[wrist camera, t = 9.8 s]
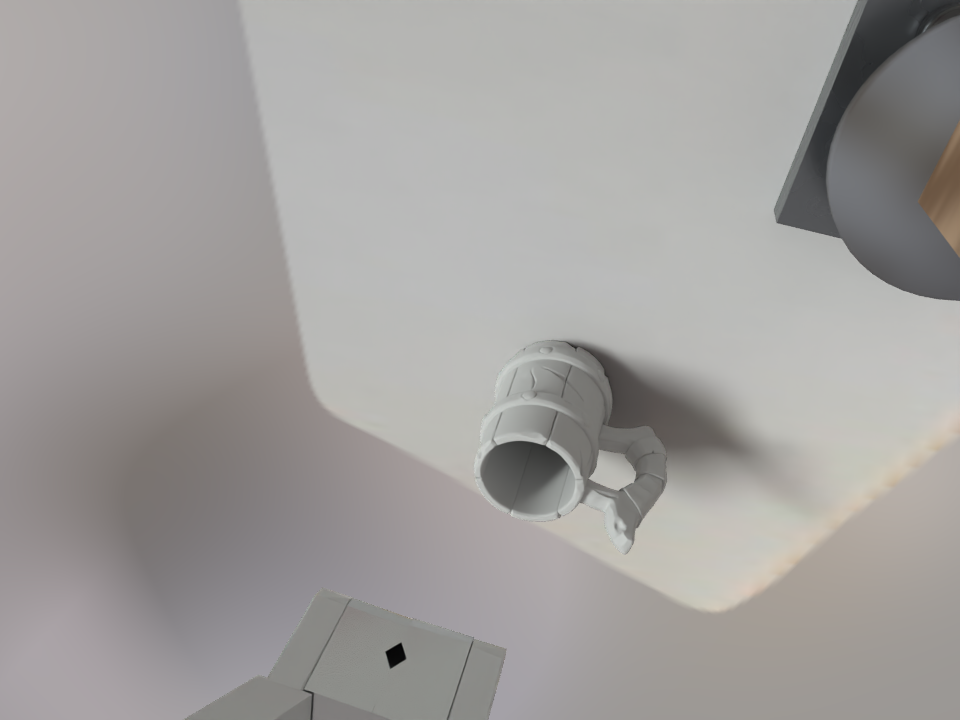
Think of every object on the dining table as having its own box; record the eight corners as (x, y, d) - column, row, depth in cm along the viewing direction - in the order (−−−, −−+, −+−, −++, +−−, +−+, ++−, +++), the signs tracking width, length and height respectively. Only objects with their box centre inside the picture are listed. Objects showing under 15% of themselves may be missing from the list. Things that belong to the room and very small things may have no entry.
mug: (519, 318, 47) (470, 426, 37) (694, 384, 46) (691, 513, 37) (487, 407, 52) (436, 525, 42) (647, 469, 51) (633, 605, 41)
